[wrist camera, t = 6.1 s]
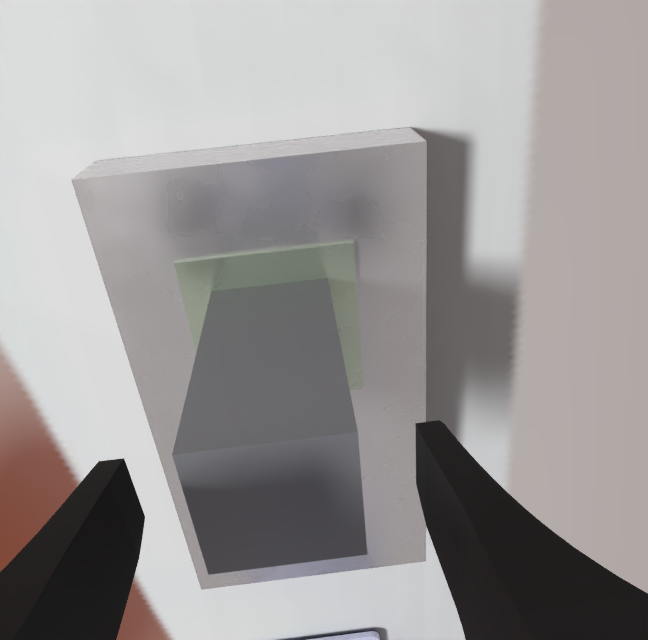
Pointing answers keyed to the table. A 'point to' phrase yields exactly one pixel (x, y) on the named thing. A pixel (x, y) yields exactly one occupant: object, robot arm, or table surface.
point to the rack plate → (272, 268)
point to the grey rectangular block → (271, 432)
